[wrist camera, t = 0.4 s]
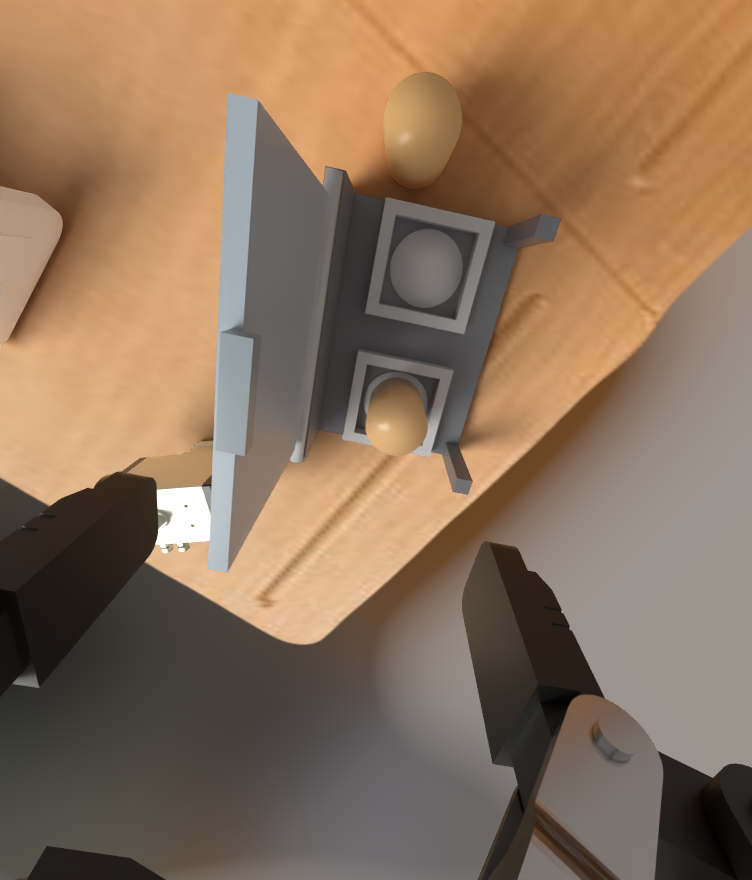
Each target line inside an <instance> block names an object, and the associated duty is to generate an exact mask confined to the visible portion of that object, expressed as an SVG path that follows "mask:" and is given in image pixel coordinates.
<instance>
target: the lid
mask: <svg viewBox="0 0 752 880" xmlns="http://www.w3.org/2000/svg"><path fill="white" fill-rule="evenodd" d="M327 200H328V192H327V191H326V190H325V188H324V187H323V186H322V184H321V183H320V182H319V180H318V179H317V178H316V176H315V175H314V174H313V172H312V171H311V170H310V168H309V167H308V166H307V164H306V163H305V162H304V160H303V159H302V158H301V156H300V155H299V154H298V153H297V151H296V150H295V149H294V147H293V146H292V145H291V143H290V142H289V141H288V139H287V138H286V137H285V135H284V134H283V133H282V131H281V130H280V129H279V127H278V126H277V125H276V123H275V122H274V121H273V119H272V118H271V117H270V115H269V114H268V113H267V111H266V110H265V109H264V107H263V106H262V105H261V103H260V102H259V101H258V100H256V99H252V98H248V97H243V96H239V95H235V94H230V93H227V116H226V141H225V166H224V190H223V215H222V240H221V265H220V289H219V314H218V339H217V364H216V388H215V413H214V438H213V463H212V487H211V512H210V537H209V561H208V569H210V570H216V571H222V572H228V570H229V569H230V567H231V565H232V563H233V561H234V559H235V558H236V556H237V554H238V552H239V550H240V549H241V547H242V545H243V543H244V541H245V539H246V538H247V536H248V534H249V532H250V530H251V529H252V527H253V525H254V523H255V521H256V519H257V518H258V516H259V514H260V512H261V510H262V509H263V507H264V505H265V503H266V501H267V499H268V498H269V496H270V494H271V492H272V490H273V489H274V487H275V485H276V483H277V481H278V480H279V478H280V476H281V474H282V472H283V470H284V469H285V467H286V465H287V463H288V461H289V460H290V458H291V456H292V454H293V452H294V450H295V445H296V438H297V430H298V422H299V415H300V407H301V399H302V392H303V384H304V376H305V369H306V361H307V353H308V346H309V338H310V330H311V323H312V315H313V307H314V300H315V292H316V284H317V277H318V269H319V261H320V253H321V246H322V238H323V230H324V223H325V215H326V207H327Z"/></svg>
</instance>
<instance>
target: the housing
mask: <svg viewBox="0 0 752 880" xmlns="http://www.w3.org/2000/svg"><path fill="white" fill-rule="evenodd" d="M323 187H324V188H325V190H326V191H327V192H328V200H327V207H326V215H325V223H324V230H323V238H322V246H321V253H320V261H319V269H318V277H317V284H316V292H315V300H314V307H313V315H312V323H311V330H310V338H309V346H308V353H307V361H306V369H305V376H304V384H303V392H302V399H301V407H300V415H299V422H298V430H297V438H296V445H295V450H294V452H293V454H292V456H291V458H290V461H291V462H294V463H300V462H302V461H305V459H306V457H307V455H308V453H309V451H310V448H311V446H312V444H313V442H314V440H315V438H316V435H317V433H318V431H319V430H322V431H327V432H332V433H337V434H342V435H343V438H342V440H346V441H351V442H356V443H361V444H366V445H371V446H374V447H375V448H376V449H377V450H379V451H381V452H382V453H385V454H388V455H393V456H399V455H405V454H408V453H412V454H417V455H422V456H427V457H430V454H431V452H434V453H439V454H442V456H443V459H444V463H445V466H446V470H447V473H448V477H449V480H450V484H451V487H452V490H453V492H457V493H462V494H467V495H468V493H469V490H470V487H471V484H472V479H471V476H470V474H469V471H468V469H467V466H466V464H465V461H464V459H463V456H462V454H461V451H460V449H459V446H458V444H459V440H460V437H461V434H462V431H463V427H464V424H465V421H466V418H467V414H468V411H469V408H470V405H471V401H472V398H473V395H474V392H475V388H476V385H477V382H478V379H479V375H480V372H481V369H482V366H483V362H484V359H485V356H486V353H487V349H488V346H489V343H490V340H491V336H492V333H493V330H494V327H495V323H496V320H497V317H498V314H499V310H500V307H501V304H502V301H503V297H504V294H505V291H506V288H507V284H508V281H509V278H510V275H511V271H512V268H513V265H514V262H515V258H516V255H517V252H518V249H519V248H524V247H528V246H533V245H538V244H542V243H547V242H552V241H554V238H555V235H556V232H557V229H558V226H559V223H560V220H561V218H556V217H552V216H547V215H543V214H540V215H538V216H535V217H533V218H531V219H528V220H526V221H523V222H521V223H518V224H516V225H513V226H511V227H509V228H508V227H504V226H499V225H495V221H490V220H486V219H481V218H477V217H472V216H468V215H464V214H459V213H455V212H450V211H446V210H441V209H437V208H433V207H428V206H424V205H419V204H415V203H410V202H406V201H402V200H397V199H393V198H388V197H386V200H384V199H380V198H375V197H371V196H366V195H362V194H357V193H355V191H354V189H353V186H352V184H351V181H350V179H349V177H348V174H347V172H346V171H345V170H341V169H336V168H332V167H327V166H325V174H324V182H323Z"/></svg>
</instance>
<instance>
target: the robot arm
mask: <svg viewBox="0 0 752 880" xmlns="http://www.w3.org/2000/svg"><path fill="white" fill-rule="evenodd" d="M158 529H159V528H158V503H157V484H156V481H155V480H154V478H152V477H146V476H141V475H136V474H131V473H125V472H115V473H114V474H112V475H111V476H109V477H108V478H107V479H105V480H104V481H103V482H101V483H100V484H99V485H97V486H96V487H95V488H93V489H91V488H86V489H84V490H81V491H79V492H76V493H74V494H71V495H69V496H66V497H64V498H61V499H60V500H58V501H57V502H55V503H54V504H53V505H51V506H50V507H48V508H47V509H46V510H44V511H43V512H42V513H40V516H39V517H34V518H33V519H31V520H30V521H29V522H27V523H26V524H25V525H23V526H22V528H21V530H16V531H14V532H13V533H12V534H10V535H9V536H7V537H6V538H4V539H3V540H2V541H0V697H1V696H2V694H3V693H4V692H5V691H6V690H7V689H8V688H9V686H10V685H12V684H18V685H24V686H30V687H37V688H40V686H41V685H42V684H43V683H44V682H45V680H46V679H47V678H48V677H49V676H50V674H51V673H52V672H53V671H54V670H55V668H56V667H57V666H58V665H59V664H60V662H61V661H62V660H63V659H64V658H65V656H66V655H67V654H68V653H69V651H70V650H71V649H72V648H73V647H74V646H75V644H76V643H77V642H78V641H79V640H80V638H81V637H82V636H83V635H84V634H85V632H86V631H87V630H88V629H89V627H90V626H91V625H92V624H93V623H94V622H95V620H96V619H97V618H98V617H99V616H100V614H101V613H102V612H103V611H104V610H105V608H106V607H107V606H108V605H109V603H110V602H111V601H112V600H113V599H114V598H115V596H116V595H117V594H118V593H119V592H120V590H121V589H122V588H123V587H124V586H125V584H126V583H127V582H128V581H129V580H130V578H131V577H132V576H133V575H134V574H135V572H136V571H137V570H138V569H139V568H140V566H141V565H142V564H143V563H144V562H145V560H146V559H147V558H148V557H149V555H150V554H151V552H152V551H153V549H154V546H155V544H156V541H157V537H158ZM561 610H562V609H561V607H560V605H559V603H558V601H557V599H556V597H555V595H554V593H553V591H552V589H550V587H549V586H548V585H547V584H546V583H545V582H544V581H543V580H542V578H540V577H539V575H538V574H537V573H536V572H532V571H528V570H527V568H526V565H525V563H524V561H523V559H522V557H521V554H520V552H519V550H518V549H517V548H516V547H513V546H507V545H502V544H497V543H492V542H487V541H486V542H484V543H483V544H482V545H481V547H480V549H479V552H478V554H477V557H476V559H475V562H474V565H473V567H472V570H471V572H470V575H469V577H468V580H467V583H466V585H465V588H464V592H463V599H462V612H463V618H464V623H465V627H466V633H467V638H468V643H469V647H470V653H471V657H472V663H473V668H474V673H475V678H476V683H477V688H478V693H479V698H480V703H481V708H482V713H483V718H484V723H485V728H486V733H487V738H488V742H489V748H490V753H491V758H492V763H493V764H497V765H504V766H509V767H514V771H515V775H516V779H517V783H518V785H517V786H516V788H515V790H514V792H513V794H512V796H511V799H510V801H509V804H508V806H507V808H506V811H505V813H504V816H503V818H502V821H501V823H500V825H499V828H498V831H497V833H496V835H495V838H494V840H493V843H492V845H491V848H490V850H489V852H488V855H487V857H486V860H485V862H484V865H483V867H482V869H481V872H480V874H479V877H478V879H477V880H752V768H751V767H748V766H745V765H742V764H729V765H727V766H725V767H724V768H723V769H722V770H721V771H720V772H719V773H718V774H717V775H716V776H715V777H714V778H712V777H710V776H708V775H705V774H704V773H701V772H699V771H697V770H695V769H693V768H691V767H689V766H687V765H685V764H683V763H681V762H679V761H677V760H675V759H673V758H671V757H668V756H667V755H664V754H662V753H661V752H659V751H657V749H656V747H655V745H654V743H653V742H652V740H651V739H650V737H649V736H648V734H647V733H646V732H645V731H644V729H643V728H642V727H641V726H640V725H639V723H638V722H637V721H636V720H635V719H634V718H633V717H631V716H630V715H629V714H628V713H627V712H626V711H624V710H623V709H622V708H620V707H619V706H617V705H616V704H614V703H612V702H610V701H609V700H607V699H605V698H604V696H603V693H602V691H601V689H600V687H599V685H598V683H597V681H596V679H595V677H594V675H593V673H592V671H591V669H590V667H589V665H588V663H587V661H586V659H585V657H584V655H583V652H582V651H581V648H580V646H579V644H578V642H577V640H576V638H575V636H574V634H573V632H572V631H571V630H570V629H569V627H570V626H569V624H568V622H567V620H566V618H565V616H564V614H563V613H561ZM17 880H165V879H164V878H162V877H160V876H159V875H157V874H155V873H154V872H152V871H151V870H149V869H147V868H146V867H144V866H142V865H141V864H139V863H138V862H136V861H134V860H133V859H131V858H126V857H119V856H112V855H105V854H98V853H92V852H85V851H77V850H70V849H64V848H57V847H50V846H47V847H46V848H45V850H44V852H43V853H42V855H41V857H40V858H39V860H38V862H37V864H36V865H35V867H34V869H33V870H32V872H31V874H30V875H29V876H28V877H23V878H19V879H17Z"/></svg>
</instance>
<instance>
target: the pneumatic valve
mask: <svg viewBox="0 0 752 880" xmlns="http://www.w3.org/2000/svg"><path fill="white" fill-rule="evenodd" d="M212 463H213V441H201V442H197V443H196V444H195V445H194V448H192V449H191V450H190V452H185V453H183V454H181V455H170V456H158V457H146V458H140V459H138V460H137V461H136V462H134V463H133V464H132V465H130V466H129V467H127V468H126V469H125V470H123V471H122V472H125V473H131V474H136V475H141V476H146V477H152V478H154V480H155V481H156V484H157V503H158V528H159V529H158V537H157V541H156V544H155V545H160V547H162V552H164V553H168V552H170V551H172V550H173V545H172V544H176V543H177V546H178V547H179V551H181V552H184V551H187V550H188V549H189V548H190V545H189V543H190V542H205V541H209V537H210V512H211V487H212ZM111 475H112V474H111ZM111 475H106V476H104V477H103V478H101V479H100V480H99V481H98V482H97V483H96V485H95V487H96V486H97V485H99V484H100V483H101V482H103V481H104V480H105V479H107V478H108V477H109V476H111ZM95 487H94V488H95Z"/></svg>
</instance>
